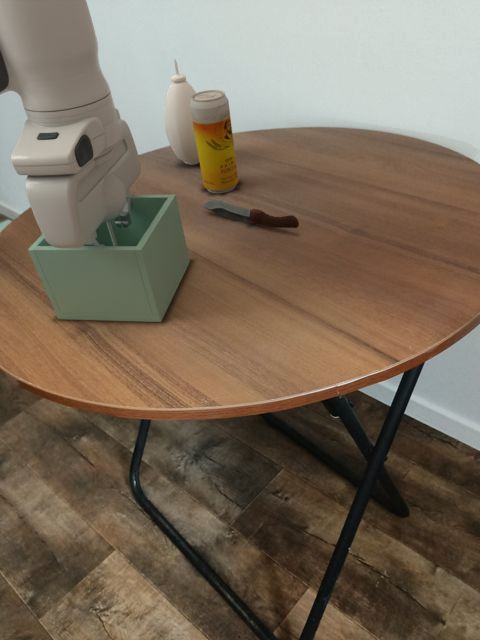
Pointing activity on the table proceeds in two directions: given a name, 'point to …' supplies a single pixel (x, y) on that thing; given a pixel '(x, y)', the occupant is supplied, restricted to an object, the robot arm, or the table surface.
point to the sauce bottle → (180, 119)
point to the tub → (119, 266)
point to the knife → (249, 214)
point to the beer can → (214, 140)
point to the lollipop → (113, 200)
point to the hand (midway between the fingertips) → (113, 242)
